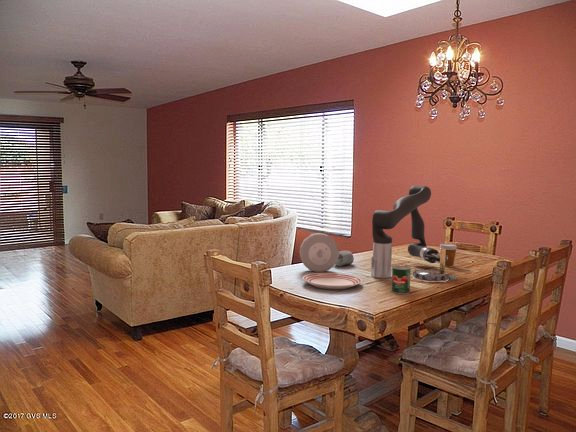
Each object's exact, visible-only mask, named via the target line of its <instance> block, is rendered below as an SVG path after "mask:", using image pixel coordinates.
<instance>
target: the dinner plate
mask: <svg viewBox="0 0 576 432" xmlns="http://www.w3.org/2000/svg"><path fill="white" fill-rule="evenodd" d="M302 280H303V281H304V282H305V283H307V284H309V285H312V286H314V287H316V288H320V289H324V290H346V289H350V288H351V287H355V286H357V285H359V284H361V283H362V282H363V280H362V278H360V277H358V276H355V275H350V274H345V273H336V272H313V273H308V274H305V275H303V276H302Z"/></svg>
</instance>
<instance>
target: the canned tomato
mask: <svg viewBox="0 0 576 432" xmlns="http://www.w3.org/2000/svg"><path fill="white" fill-rule="evenodd" d="M411 269H412V268H411V267H410V266H407V265H391V293H394V294H398V295H408V294H410V292H411Z"/></svg>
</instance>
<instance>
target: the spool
mask: <svg viewBox="0 0 576 432" xmlns="http://www.w3.org/2000/svg"><path fill="white" fill-rule="evenodd" d="M354 260H355V257H354V254H353V252H352V251H350V250H340V251H339V256H338V260H337V262H336V264H335V265H334V266H336V267H338V268H339V267H343V266H348V265H351V264H353V263H354Z"/></svg>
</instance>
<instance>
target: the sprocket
mask: <svg viewBox="0 0 576 432" xmlns="http://www.w3.org/2000/svg"><path fill="white" fill-rule="evenodd" d="M439 254H440V262H439V270H434V269H425V268H424V269H420V270H419V269H415V270H413V271H412V277H413V276H414V277H415V278H419V279H421V280H423V279H425V280H427V281H432V280H436V281H441V280H444V281H445V280H447V279H449V276H450V274H449V273H448V272H446V267H445V254H446V249H443V248H441V251H439ZM449 280H450V279H449Z"/></svg>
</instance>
